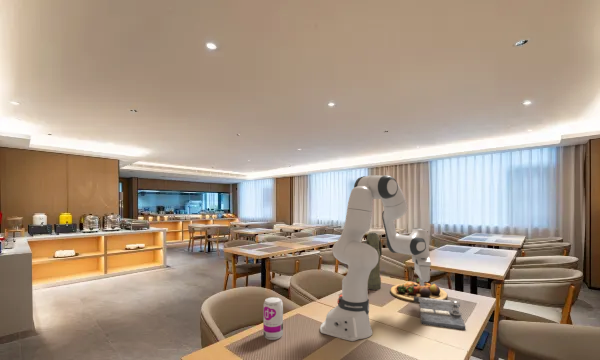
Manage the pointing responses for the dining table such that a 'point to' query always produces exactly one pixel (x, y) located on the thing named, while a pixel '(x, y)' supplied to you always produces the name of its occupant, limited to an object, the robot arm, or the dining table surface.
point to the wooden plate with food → (417, 291)
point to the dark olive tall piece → (374, 276)
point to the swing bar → (437, 301)
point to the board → (441, 315)
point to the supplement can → (273, 318)
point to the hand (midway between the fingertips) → (422, 285)
